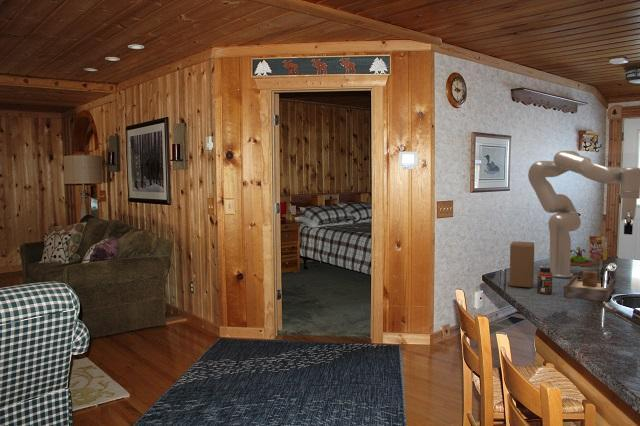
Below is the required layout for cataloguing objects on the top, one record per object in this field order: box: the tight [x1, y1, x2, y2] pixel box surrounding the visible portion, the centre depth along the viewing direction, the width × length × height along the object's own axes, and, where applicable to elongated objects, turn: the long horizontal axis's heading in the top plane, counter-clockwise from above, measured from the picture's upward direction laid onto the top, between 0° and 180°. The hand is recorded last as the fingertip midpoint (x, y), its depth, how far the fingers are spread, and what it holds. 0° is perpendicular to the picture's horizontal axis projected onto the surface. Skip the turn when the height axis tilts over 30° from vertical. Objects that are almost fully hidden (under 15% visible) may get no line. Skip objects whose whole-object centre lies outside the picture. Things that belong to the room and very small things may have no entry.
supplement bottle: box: [536, 266, 553, 295], centre depth 216 cm, size 6×6×11 cm
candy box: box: [588, 235, 609, 261], centre depth 294 cm, size 9×4×15 cm, turn 29°
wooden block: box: [509, 240, 535, 289], centre depth 232 cm, size 10×10×20 cm
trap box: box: [563, 274, 615, 303], centre depth 216 cm, size 16×28×4 cm, turn 145°
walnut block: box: [582, 269, 598, 287], centre depth 217 cm, size 5×5×6 cm
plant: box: [570, 246, 600, 268], centre depth 282 cm, size 20×20×11 cm
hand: (628, 233), depth 223 cm, fingers open, 9 cm apart
